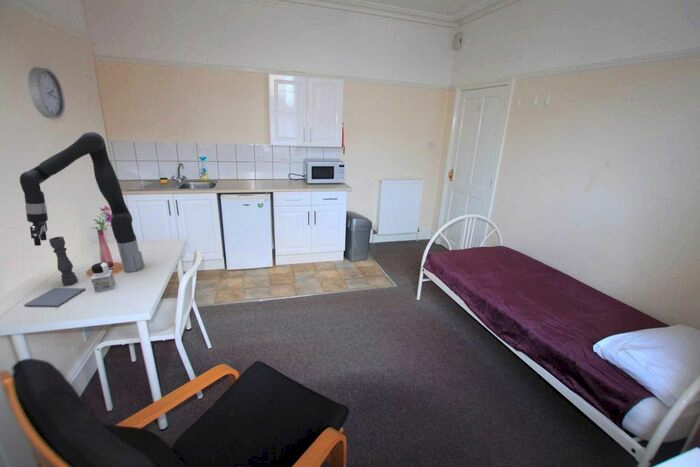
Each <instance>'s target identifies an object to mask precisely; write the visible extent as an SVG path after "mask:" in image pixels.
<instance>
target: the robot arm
mask: <svg viewBox="0 0 700 467" xmlns="http://www.w3.org/2000/svg"><path fill="white" fill-rule="evenodd" d="M88 154H89V156H90V159H91V162H92V167H93V173H94V178H95V181H96V184H97V187H98V189H99V191H100V193H101V195H102V196H103V197H104V200H106V202H107V203H108V206H109V208H110V211H111V216H112V217H111V220H110V225H111V230H112V233H113V237H114V239H115V240H116V245H117V248H118V252H119V257H120V260H121V264H122V269H123V272H125V273H132V272H133V273H134V272H138V271H140V270H142V269H143V268H144V267H145V263H144V259H143V254H142V252H141V250H139V244H138V241H137V240H138V239H137V235H136V234H135V232H134V227H133V224H132V223H133V217H132V216H133V215H132V214H131V212H130V210H129V209H128V206H127V204H126V201H125V199H124V195H123V192H122V191H123V190H122V188H121V185H120V182H119V180H118V176H117V174H116V172H115V170H114V167H113V165H112V162H111V160H110V157H109V155H108V151H107V147H106V140H105V139H104V137H103V136H102V135H100V133H98V132H95V131H91V132H86V133H83V134H82V135H81V136H80V137H78V139H76V141H74V142H73V143H72V144H70V145H69V146H68V147H66V148H65V149H63V150H61V151H59V152H58V153H56V154H54V155H52V156H49V158H47V159H45V160H43V161H42V162H40V163H39V165H37V166H35V167H33V168H32V169H30V170H28V171H24V172H23V173H21V174H20V175H19V176H20V177H19V183H20V186H21V189H22V191H23V194H24V202H25V208H24V209H25V213H26V214H25V215H26V221H27V222H28V223H32V225H31V226H29V230H30V238H31V239H33V243H34V246H35V247H39V246H42V243H41V242H42V241H47V240H48V239H47V232H48V224H47V222H48V220H49V218H48V209H47V204H46V200H45V193H44V191H42V190H41V184H42V183H44V182H45V181H46V180H48V179H49V178H50V177H52V176H54V175H56V174H59V173H60V172H61V171H63V170H64V169H66V168H67V167H69V166H70V165H72V164H73V163H74V162H76V161H77V160H79V159H80V158H83V157H85V156H87V155H88Z"/></svg>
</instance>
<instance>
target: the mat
mask: <svg viewBox="0 0 700 467" xmlns="http://www.w3.org/2000/svg"><path fill="white" fill-rule="evenodd" d="M85 291H86V288H84V287H82V288H81V287H80V288H79V287H78V288H77V287H53V288H51V289H50V290H47V291H46V292H45V293H43V294H41V295H39V296H37V297H35V298H33V299H32V300H30V301H28V302H26V303H25V304H23V306H24V307H25V306H27V308H28V307H29V308H30V307H31V308H35V307H36V308H60V306H62V305H65V304H66V303H68V302H70V301H71V300H72V299H74V298H75V297H77V296H79V295H81V294H82V293H83V292H85Z"/></svg>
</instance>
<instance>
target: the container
mask: <svg viewBox="0 0 700 467" xmlns="http://www.w3.org/2000/svg"><path fill="white" fill-rule="evenodd" d="M91 271H92V276H91V279H90V280H91V283H92V287H93V290H94V292H95V293H98V292H99V293H100V292H104V291H109V290H113V289H114V287H115V284H116V280H115V276H114V272H113V270H112V269H109V266H108V263H107V262H97V263H95V264H93V265H92V266H91Z"/></svg>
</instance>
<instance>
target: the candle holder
mask: <svg viewBox="0 0 700 467" xmlns="http://www.w3.org/2000/svg"><path fill="white" fill-rule="evenodd" d="M48 241H49V245H50V247H51V248H52V249H54V250H53V251H52V252H53V253H54V254H55V255H56V258H57V259H56V260H57V270H58V271H59V272H61V276H60V280H61V283H62V286H63V287H68V286H73V285H77V283H79V281H78V278H77V275H76V273H75V272H74V271H73V268H74V265H73V263H72V261H71V260H70V259H69V257H68V255H67V252H66V251H67V249H68V248H66V247H65V246H66V241H65V238H64V236H55V237H50V238H49V239H48Z"/></svg>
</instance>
